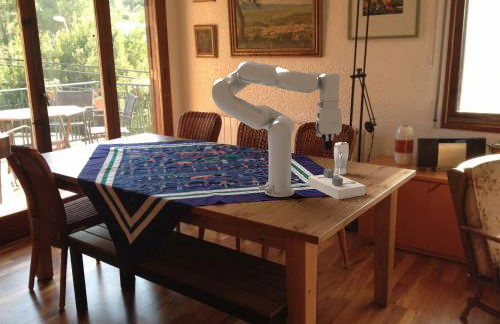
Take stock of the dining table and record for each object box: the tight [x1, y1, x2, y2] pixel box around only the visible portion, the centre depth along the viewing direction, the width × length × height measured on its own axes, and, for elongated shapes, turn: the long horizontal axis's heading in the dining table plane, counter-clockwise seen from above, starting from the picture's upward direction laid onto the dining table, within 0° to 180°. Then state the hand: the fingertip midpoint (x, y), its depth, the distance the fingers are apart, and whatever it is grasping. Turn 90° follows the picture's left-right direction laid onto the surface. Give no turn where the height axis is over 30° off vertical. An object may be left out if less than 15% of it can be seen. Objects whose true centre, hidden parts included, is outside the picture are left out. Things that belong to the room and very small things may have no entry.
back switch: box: [323, 168, 335, 177], centre depth 204 cm, size 3×3×3 cm
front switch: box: [332, 177, 343, 186], centre depth 191 cm, size 3×3×3 cm
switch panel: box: [307, 173, 367, 200], centre depth 198 cm, size 14×22×4 cm, turn 26°
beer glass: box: [333, 141, 350, 176], centre depth 222 cm, size 7×7×15 cm
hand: (327, 149), depth 185 cm, fingers closed
